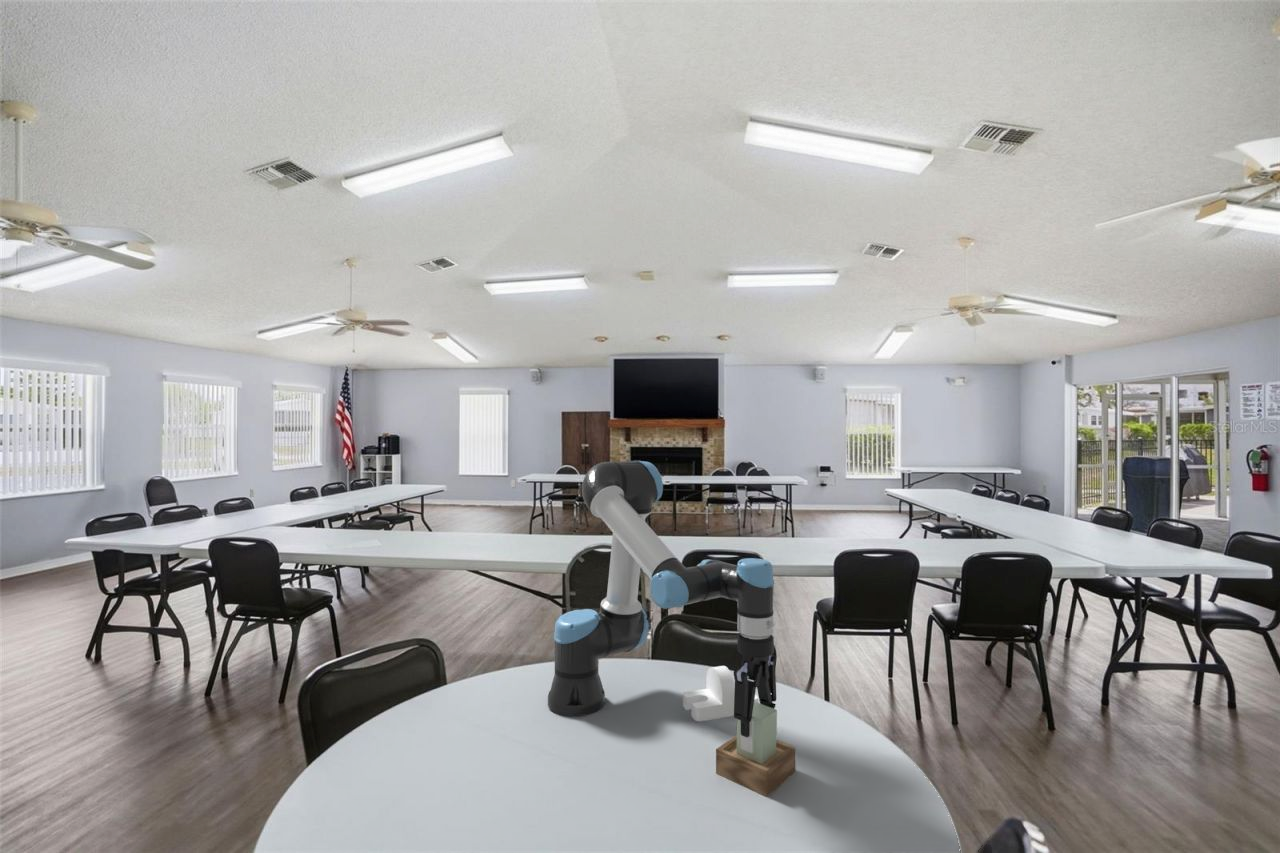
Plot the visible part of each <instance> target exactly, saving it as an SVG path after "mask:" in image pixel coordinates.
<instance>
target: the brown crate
mask: <svg viewBox="0 0 1280 853" xmlns="http://www.w3.org/2000/svg"><path fill="white" fill-rule="evenodd" d="M795 772H796V747H795V746H793V745H792V744H791V745H790V744H788V743H786V742H783V741H782V740H781V741H780V740H778V739H776V753H775V754H774V755H773V756H772V757H770V758H769V759H768V760H767V761H765V762H764V763H763V764H759V763H757V762H755V761H753V760H751V759H748V758H746V757H744V756H742V755H740V754H737V734H735V735H734V736H733V737H731V738H730V739H729V740H727V741H726V742H724V743H723V744H721V745H720V746H718V747H717V748H715V774H716V775H718V776H720V777H722V778H726V779H728V780H729V781H731V782H734V783H736V784H738V785H741V786H743V787H744V788H747V789H748V790H751V791H753V792H755V793H757V794H759V795H762V796H764V797H766V798H767V797H769V796H770V795H771V794H772V793H773V792H774V791H775V790H776V789H778V788H779V787H780V786H781V785H782V784H783V783H784V782H785V781H786V780H787V779H788V778H789V777H790V776H792V775H793V774H794V773H795Z"/></svg>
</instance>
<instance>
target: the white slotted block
mask: <svg viewBox="0 0 1280 853" xmlns="http://www.w3.org/2000/svg"><path fill="white" fill-rule="evenodd" d="M705 682H706V683H705V686H706V687H705V688H703V689H695V690H690V691H685V692H682V707H684V708H685V709H686V710H685V709H684V708H683V709H684V710H685V711H690V710H689V709H691V718H692V719H693V720H694V721H696V722H704V721H711V720H715V719H717V720H718V719H722V718H728V717H730V718H731V717H734V693H735V680H734V676H733V675H732V673H731V670H730V669H729V668H728V666H726V665H718V666H711V667H709V668H708V670H707V672H706V681H705ZM754 702H757V703H759V696H758V695H757V694H755V698H754Z"/></svg>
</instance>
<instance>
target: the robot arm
mask: <svg viewBox="0 0 1280 853" xmlns="http://www.w3.org/2000/svg"><path fill="white" fill-rule="evenodd" d="M663 484H664V483H663V478H662V475H661V473H660V472H659V469H658V468H657V467H656V466H655V465H654V464H653V463H652V462H649V461H644V460H643V461H642V460H626V461H604V462H603V461H602V462H600V463H599V462H598V463H597V464H595V465H593V466H592V467H591V468H589V470H588V471H587V473H585V476H584V477H583V480H582V484H581V494H582V499H583V501H584V505H585V506H586V508H587V509H588V511H590V512H591V514H592V515H593V516H594V517H595V518H600V519H601V520H602V521H603V523H605V526H607V527H608V529H609V530H610V531H611V532H612V535H611V536H612V539H611V550H610V561H609V570H608V579H607V582H608V583H607V592H606V596H605V597H604V598H603V599H602V600H601V602H600V605H599V606H600V609H599V612H597V611H596V610H594V609H591V608H590V609H589V608H584V609H574V610H570V611H568V612H565V613H563V614H562V615H560V616H559V617H558V618H557V620H556V622H555V624H554V626H555V627H554V633H553V634H554V635H553V639H554V676H553V679H552V683H551V686H550V690H549V692H548V694H547V708H548V709H549V710H550V711H551V712H553V713H555V714H557V715H561V716H567V717H568V716H569V717H581V716H586V715H591V714H594V713H596V712H597V711H599V710H601V709H603V707H604V706H605V704H606V692H605V690H604V688H603V684H602V680H601V676H600V674H599V660H600V659H604V658H607V657H610V656H614V655H618V654H622V653H629V652H632V651H633V650H635V649H638V648H640V647H641V646H642V645H644V643H645V642H646V640H647V638H648V633H649V630H650V629H649V620H648V619H647V618H648V615H647V613H646V612H645V610H644V609H643V605H642V603H641V602H640V601H639V600H638V596H639V595H638V594H639V587H640V586H639V584H640V576H641V569H642V570H643V572H644V573H645V574H646V576H647V577H648V578H649V580H650V582H649V595H651V596H652V597H651V598H652V601H653V603H654V604H655V606H657V607H659V608H661V609H665V610H666V609H675V608H681V607H684V606H687V605H692V604H694V603H700V602H704V601H710V600H714V599H718V598H724V599H727V600H732V601H734V602H737V620H736V621H737V622H736V623H737V627H736V628H737V632H738V633H737V651H738V653H740V654H741V656H742V662H741V668H740V669H734V670H733V680H734V685H735V693H734V716H733V718H734V719H736V720H737V719H738V720H740V721H741V749H742V750H745V751H747V752H750V753H754V720H752V712H753V705H754V698H755V695H756V691H757V694H758V695H757V696H758V702H759V703H760V704H762V705H765V706H768V707H770V708H773V709H776V705H777V704H776V701H777V680H776V679H777V678H776V677H777V676H776V662H777V656H776V655H773V654H774V653H775V652H774V651H775V649H774V648H775V647H774V646H775V645H774V643H775V640H774V638H775V637H774V636H773V634H774V627H775V622H774V587H775V586H774V585H775V579H774V569H773V568H774V567H773V564H772V563H771V562H770V561H768V560H767V559H763V558H754V557H753V558H752V557H751V558H750V557H749V558H748V557H747V558H746V557H745V558H741V559H740V560H738V561H737V564H732V563H729V562H725V561H722V560H718V559H702V561H701V562H700V563H698V564H697V565H695V566H688V567H686V566H685V565H684V564H683V563H682V562H681V560H679V558H678V557H677V556H676V555H675V554H674V553H673V552H672V551H671V550H670V549H669V547H668V545H666V543H664V542H663V540H661V538H660V537H659V535H657V533H656V532H655V531H654V530H653V529H652V528H651V527H650V525H649V524H648V523H647V522H646V518H647V517H648V516H649V515H650V514H652V510H653V504H654V503H657V502H658V501H659V500H660V499H661V498H662V495H663V492H664V491H663V490H664V485H663ZM774 702H775V703H774Z"/></svg>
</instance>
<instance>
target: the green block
mask: <svg viewBox="0 0 1280 853" xmlns="http://www.w3.org/2000/svg"><path fill="white" fill-rule="evenodd" d="M777 716H778V710H777V709H776V708H774V709H773V708H770V707H768V706H765V705H762V704H760V702H758V703H757V702H754V705H753V712H752V720H754V753H750V752H747V751H745V750H742V749H741V721H740V720H738V719H736V735H737V754H740V755H742V756H744V757H746V758H748V759H751V760H753V761H755V762H757V763H759V764H763V763H764V762H765V761H767V760H768V759H769V758H770V757H772V756H773V755H774V754H775V753H776V740H777V728H778V725H777V724H778V723H777V722H778V717H777Z"/></svg>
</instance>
